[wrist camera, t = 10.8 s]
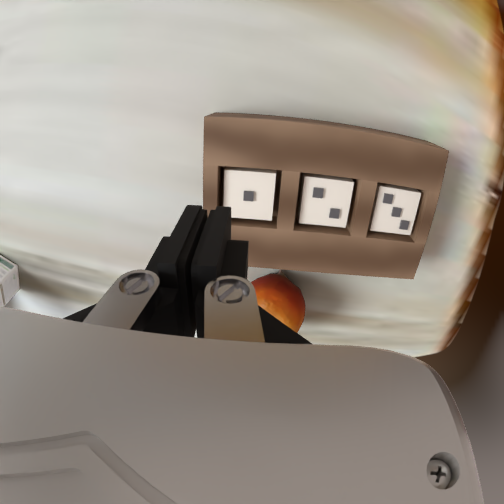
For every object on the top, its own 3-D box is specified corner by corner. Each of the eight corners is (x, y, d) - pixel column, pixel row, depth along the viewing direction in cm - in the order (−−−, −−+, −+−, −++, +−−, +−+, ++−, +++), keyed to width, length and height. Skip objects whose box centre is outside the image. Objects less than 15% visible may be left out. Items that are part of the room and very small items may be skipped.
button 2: (302, 170, 28) (304, 176, 26) (349, 176, 28) (354, 182, 26) (297, 214, 30) (299, 224, 28) (341, 219, 30) (346, 228, 28)
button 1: (227, 164, 28) (224, 170, 26) (276, 168, 28) (276, 174, 26) (226, 208, 30) (222, 217, 29) (272, 212, 30) (271, 221, 28)
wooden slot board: (215, 112, 28) (204, 116, 24) (426, 140, 27) (448, 150, 23) (212, 239, 35) (204, 262, 31) (398, 255, 34) (413, 279, 30)
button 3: (373, 179, 28) (380, 186, 26) (413, 186, 28) (422, 193, 26) (364, 222, 30) (370, 231, 28) (403, 226, 30) (410, 236, 28)
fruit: (330, 290, 36) (307, 350, 31) (287, 300, 42) (263, 351, 37) (284, 246, 33) (253, 308, 29) (244, 263, 39) (214, 315, 35)
